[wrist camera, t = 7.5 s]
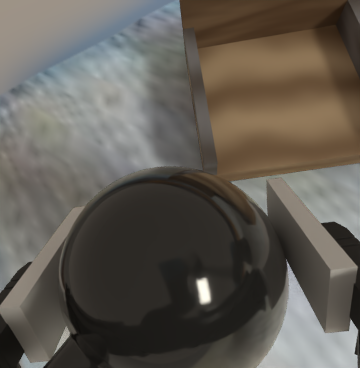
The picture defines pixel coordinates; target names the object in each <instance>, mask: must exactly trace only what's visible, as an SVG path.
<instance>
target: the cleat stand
mask: <svg viewBox="0 0 360 368" xmlns="http://www.w3.org/2000/svg"><path fill="white" fill-rule="evenodd" d="M180 9H181V18H182V27H183V36H184V45H185V54H186V62H187V68H188V75H189V81H190V87H191V94H192V100H193V107H194V113H195V120H196V126H197V133H198V139H199V146H200V152H201V159H202V165H203V171H204V172H208V173H211V174H213V175H216V176H218V177H220V178H223V179H225V180H226V181H235V180H242V179H249V178H256V177H263V176H271V175H278V174H285V173H292V172H299V171H306V170H313V169H320V168H327V167H334V166H341V165H348V164H356V163H360V0H180Z"/></svg>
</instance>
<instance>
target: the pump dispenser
mask: <svg viewBox="0 0 360 368" xmlns="http://www.w3.org/2000/svg"><path fill="white" fill-rule="evenodd" d="M288 294H289V277H288V268H287V262H286V257H285V253H284V250H283V247H282V244H281V241H280V239H279V236H278V234H277V232H276V230H275V228H274V226H273V225H272V223H271V221H270V220H269V218H268V217H267V215H266V214H265V213H264V211H263V210H262V209H261V208H260V206H259V205H258V204H257V203H256V202H255V201H254V200H253V199H252V198H251V197H250V196H248V195H247V194H246V193H245V192H244V191H242V190H241V189H239V188H238V187H237V186H235V185H233V184H232V183H230V182H228V181H226V180H225V179H223V178H220V177H218V176H216V175H213V174H211V173H208V172H204V171H201V170H197V169H192V168H186V167H176V166H163V167H154V168H148V169H144V170H140V171H137V172H134V173H131V174H129V175H126V176H124V177H122V178H120V179H118V180H116V181H115V182H113V183H111V184H110V185H108V186H107V187H106V188H104V189H103V190H102V191H100V192H99V193H98V194H97V195H96V196H95V197H94V198H93V199H92V200H91V201H90V202H89V203H88V204H87V205H86V206H85V207H84V209H83V210H82V211H81V213H80V214H79V215H78V217H77V218H76V220H75V222H74V223H73V225H72V227H71V229H70V231H69V233H68V235H67V238H66V240H65V243H64V246H63V249H62V253H61V257H60V262H59V269H58V296H59V302H60V308H61V313H62V316H63V319H64V322H65V324H66V326H67V328H68V330H69V332H70V336H69V337H68V339H67V340H66V341H65V342H64V344H63V345H62V346H61V347H60V348H59V350H58V351H57V352H56V353H55V354H54V355H53V357H52V358H51V359H50V360H49V361H48V363H47V364H46V365H45V366H44V367H43V368H256V367H257V366H258V365H259V364H260V363H261V362H262V360H263V359H264V358H265V356H266V355H267V354H268V352H269V351H270V349H271V347H272V346H273V344H274V342H275V340H276V338H277V336H278V334H279V332H280V329H281V327H282V324H283V321H284V317H285V313H286V309H287V303H288Z"/></svg>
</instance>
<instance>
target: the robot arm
mask: <svg viewBox="0 0 360 368" xmlns="http://www.w3.org/2000/svg"><path fill="white" fill-rule="evenodd" d="M266 182H267V212H268V218H269V220H270V221H271V223H272V225H273V226H274V228H275V230H276V232H277V234H278V236H279V239H280V241H281V244H282V247H283V250H284V253H285V257H286V260H287V261H288V263H289V265H290V267H291V269H292V271H293V273H294V275H295V277H296V279H297V280H298V282H299V284H300V286H301V288H302V290H303V292H304V294H305V296H306V298H307V299H308V301H309V303H310V305H311V307H312V309H313V311H314V313H315V315H316V317H317V318H318V320H319V322H320V324H321V326H322V328H323V330H324V332H325V333H331V332H341V331H349V326H350V318H351V320H352V321H353V323H354V324H355V326H356V327H357V329H358V336H357V342H356V348H355V354H356V355H358V368H360V241H359V240H358V239H357V238H355V236H354V235H353V234H352V233H351V232H350V231H349V230H348V229H347V228H345V227H343V226H341V225H340V224H338V223H336V222H328V223H320V222H319V221H318V220H317V219H316V218H315V216H314V215H313V214H312V213H311V212H310V211H309V209H308V208H307V207H306V206H305V205H304V204H303V202H302V201H301V200H300V199H299V198H298V196H297V195H296V194H295V193H294V192H293V191H292V189H291V188H290V187H289V186H288V185H287V184H286V182H285V181H284V180H283V179H282V178H275V179H268V180H266ZM84 207H85V206H81V207H74V208H73V209H72V210H71V211H70V213H69V214H68V215H67V217H66V218H65V219H64V221H63V222H62V223H61V225H60V226H59V227H58V229H57V230H56V231H55V233H54V234H53V235H52V237H51V238H50V239H49V241H48V242H47V243H46V245H45V246H44V247H43V249H42V250H41V252H40V253H39V254H38V256H37V257H36V258H35V260H34V261H33V262H28V263H27V264H26V265H25V266H23V267H22V268H21V269H20V270H18V271H17V273H16V274H15V275H14V276H13V278H12V279H11V282H9V283H8V284H7V285H6V287H5V288H4V290H2V292H1V293H0V368H21V366H20V364H19V361H20V359H21V357H22V355H23V353H25V354H26V356H27V358H28V359H29V361H30V363H33V362H42V361H49V360H50V359H51V358H52V356H53V354H54V352H55V350H56V347H57V345H58V343H59V340H60V338H61V336H62V334H63V331H64V329H65V327H66V324H65V322H64V319H63V316H62V313H61V308H60V302H59V296H58V269H59V262H60V257H61V253H62V249H63V246H64V243H65V240H66V238H67V235H68V233H69V231H70V229H71V227H72V225H73V223H74V222H75V220H76V218H77V217H78V215H79V214H80V213H81V211H82V210H83V209H84Z"/></svg>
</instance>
